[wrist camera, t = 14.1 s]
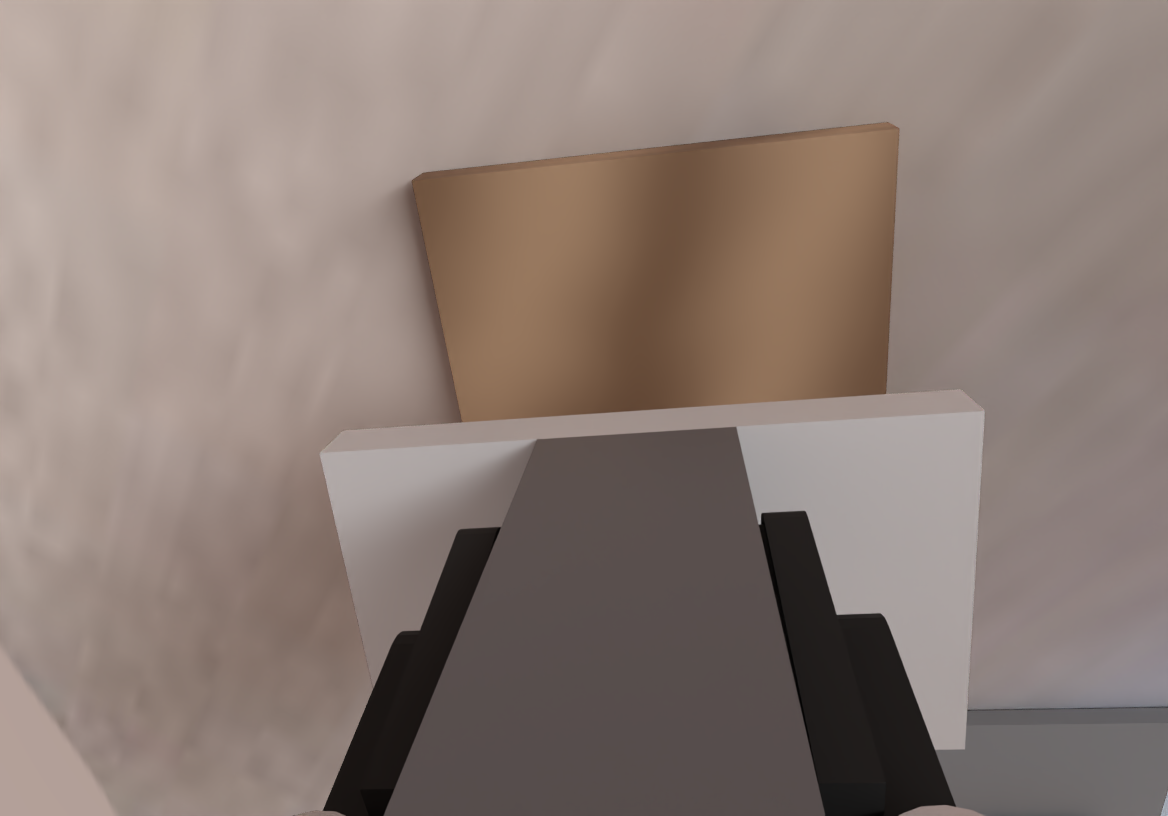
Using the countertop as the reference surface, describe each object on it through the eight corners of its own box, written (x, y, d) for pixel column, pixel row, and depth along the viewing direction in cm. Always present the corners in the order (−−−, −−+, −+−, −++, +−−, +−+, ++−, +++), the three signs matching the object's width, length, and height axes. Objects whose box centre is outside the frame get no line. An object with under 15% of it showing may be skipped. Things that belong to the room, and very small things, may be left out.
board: (887, 122, 18) (899, 128, 17) (870, 522, 23) (878, 543, 22) (422, 172, 20) (411, 180, 19) (496, 539, 25) (490, 559, 24)
